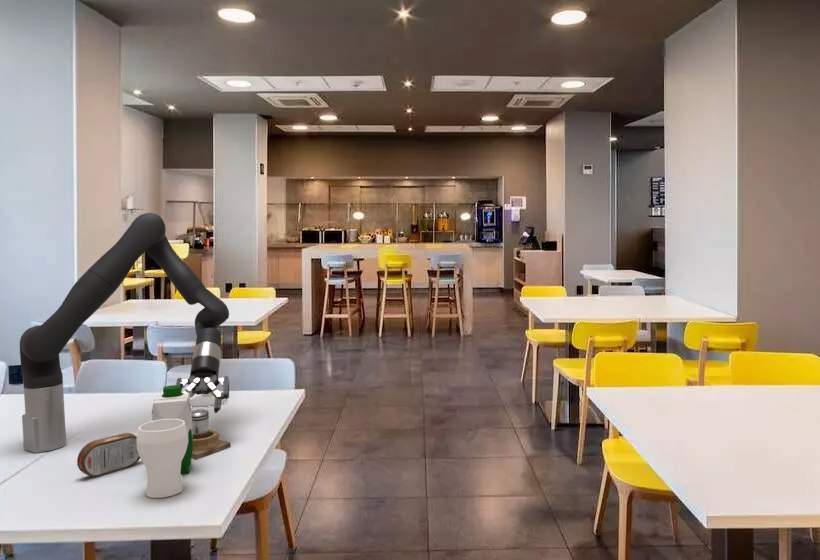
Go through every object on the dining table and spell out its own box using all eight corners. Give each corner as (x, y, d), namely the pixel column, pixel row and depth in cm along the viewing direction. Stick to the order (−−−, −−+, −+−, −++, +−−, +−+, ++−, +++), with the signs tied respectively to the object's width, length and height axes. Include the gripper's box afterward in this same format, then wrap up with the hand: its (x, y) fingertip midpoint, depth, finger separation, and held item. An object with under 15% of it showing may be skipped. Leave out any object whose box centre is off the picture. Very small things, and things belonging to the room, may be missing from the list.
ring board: (196, 459, 155) (195, 444, 155) (169, 452, 161) (168, 437, 161) (230, 446, 165) (230, 432, 164) (203, 440, 171) (203, 426, 170)
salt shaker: (197, 449, 159) (196, 415, 159) (185, 446, 162) (183, 412, 162) (214, 443, 164) (212, 410, 163) (201, 440, 167) (200, 408, 166)
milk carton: (195, 461, 154) (191, 383, 153) (192, 474, 145) (188, 392, 144) (157, 465, 152) (154, 386, 150) (152, 479, 143) (148, 395, 142)
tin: (139, 461, 156) (138, 428, 155) (145, 463, 154) (144, 430, 153) (77, 479, 144) (75, 444, 143) (83, 482, 142) (81, 447, 141)
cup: (196, 481, 141) (193, 417, 140) (181, 500, 131) (178, 431, 130) (150, 482, 141) (147, 418, 140) (130, 502, 130) (127, 433, 129)
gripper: (177, 355, 170) (168, 406, 160) (230, 353, 172) (224, 403, 162) (182, 370, 176) (174, 420, 165) (233, 368, 178) (228, 417, 167)
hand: (199, 412), depth 163 cm, fingers open, 8 cm apart
